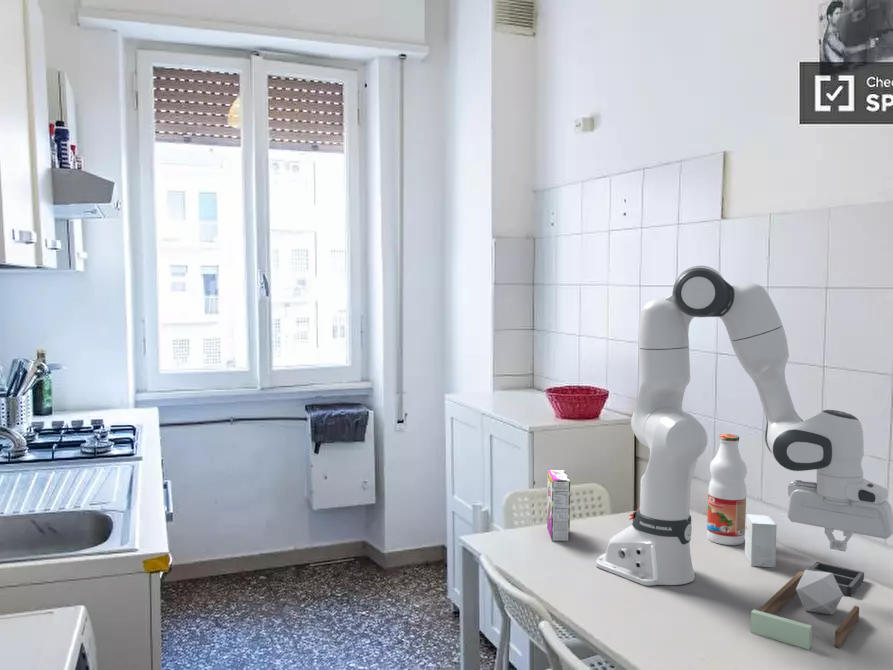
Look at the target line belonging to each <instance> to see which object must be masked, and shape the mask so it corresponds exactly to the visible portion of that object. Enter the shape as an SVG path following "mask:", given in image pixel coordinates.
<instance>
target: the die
mask: <svg viewBox="0 0 893 670" xmlns="http://www.w3.org/2000/svg"><path fill="white" fill-rule="evenodd" d="M803 572H804V573H803V575H802V577H801V579H800V581H799V584H798V586H797V588H796V591H797V593H796V594H797V595H798V598H799V600H800V602H801V603H802V607H803V608H804V611H806V612H809V613H818V614H825V615H834V613H835V612H836V610H837V608H838V606H839V604H840V603H841V599H842V598H843V596H844V595H843V594H842V592H841V590H840V588H839V586H838V584H837V582H836V580H835V578H834V576H833V574H832V573H828V572H820V571H811V570H809V569H805V570H804V571H803Z"/></svg>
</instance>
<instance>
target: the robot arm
mask: <svg viewBox="0 0 893 670" xmlns="http://www.w3.org/2000/svg"><path fill="white" fill-rule="evenodd" d="M695 317H696V318H719V319H721V321H722V322H723V324H724V326H725V329H726V331H727V334H728V338H729V340H730V344H731V346H732V349H733V351H734V353H735V356H736V357H737V360H738V362H739V363H740V365H741V367H742V368H743V369H744V371H745V373H747V375H748V376H749V377H750V378H751V379H752V381H753V383H754V385H755V387H756V389H757V393H758V396H759V399H760V402H761V406H762V408H763V411H764V414H765V419H766V424H765V432H764V442H765V446H766V448H767V449H768V451H769V452H770V453H771V454H772V456H773V457H774V459H775V461H776V462H777V463H778V464H779V465H780V466H781V467H783V468H784V469H786V470H789V471H793V472H803V471H805V472H806V471H812V470H814V471H815V470H816V482H813V481H804V480H803V481H802V480H800V479H796V480H794V481H791V482H790V483H789V484H788V486H787V495H788V497H789V501H788V507H787V518H788V520H789V521H790V523H791V522H792V523H796V524H801V525H807V526H808V525H809V526H811V527H812V526H813V527H818V528H824V534H825V536H826V538H827V539H828V541H829V549H830V550H835V551H841V552H846V551H847V549H848V542H849V541H850V539H851V538H852V536H853V535H854V534H857V535H862V536H868V537H873V538H878V539H879V538H880V539H885V540H888V539H889V538H890V537H891V536H892V535H893V508H892V505H891V504H890V502H889V501H888V500H887V499H888V494H889V492H888V491H889V490H888V489H887V488H886V487H884V486H882V485H879V484H878V483H877V484H876V483H875V482H873V481H869V480H867V479H865V478H864V471H863V467H862V460H863V458H864V454H865V453H864V452H865V451H864V449H865V448H864V447H865V446H864V445H865V444H864V430H863V425H862V422H861V421H860V420H859V419H858V417H856V416H855V415H853V414H851V413H848V412H845V411H840V410H835V409H823V410H822V411H820V412H819V413H818V414H816V415H814V416H812V417H810V418H808V419H805V420H803V419H802V418H801V417H800V415H799V414H798V412H797V411H796V409H795V407H794V404H793V401H792V397H791V395H790V390H789V387H788V384H787V382H786V373H785V371H786V366H787V363H788V360H789V357H790V353H789V346H788V339H787V335H786V332H785V329H784V325H783V323H782V321H781V317H780V314H779V312H778V310H777V308H776V306H775V304H774V302H773V300H772V298H771V297H770V295H769V293H768V291H766V289H765V288H764V287H763V286H762V285H760V284H757V283H751V282H750V283H748V282H747V283H746V282H745V283H741V284H737V285H732V284H730V283H729V282H728V281H726V280H725V279H724V277H723V275H721V273H719V271H717V270H716V269H714V268H712V267H710V266H708V265H707V266H706V265H694V266H691V267H688V268H687V269H685V270H684V271H682V272H681V273H680V274H679V276H678V277H677V279H676V280H675V282H674V285H673V288H672V292H671V294H670V295H669V296H666V297H658V298H654V299H652V300H649V301H648V302H646V303H645V304H644V305H643V306H642V308H641V311H640V317H639V323H638V325H639V326H638V341H637V342H638V364H639V365H638V366H639V369H638V370H639V384H638V385H639V386H638V393H637V398H636V406H635V411H634V412H633V414H632V415H631V418H630V419H631V420H630V426H631V430H632V432H633V434H634V436H635V437H636V439H637V440H638V441H639V443H640V444H642V445H643V446H645V447H646V448H648V449H649V457H648V458H649V459H648V462H647V466H646V469H645V472H644V474H642V476H641V478H640V489H639V490H640V492H639V493H640V494H639V498H640V499H639V507H638V508H637V510H634V511H633V513H631V514H629V521H631V520H632V523H631V525H628V527H627V526H626V528H624V529H623V530H621V531H619V532H618V533H615V534H614V535H613V536H612V537H611V538H610V539H609V541H608V544H607V546H606V551H605V552H604V553H603V554H600V555H599V556H598V557H597V559H596V561H595V562H596V563H595V566H596V567H597V568H598V569H601V570H604V571H606V572H610V573H612V574H614V575H617V576H620V577H623V578H625V579H627V580H629V581H633V582H636V583H638V584H640V585H643V586H647V587H649V586H658V585H661V586H663V585H664V586H677V585H678V586H679V585H685V584H688V583H691V582H693V581H694V580H695V579H696V575H695V570H694V567H693V563H692V561H693V560H692V554H691V548H690V547H691V543H690V541H691V540H692V539H691V538H692V530H693V529H692V516H691V514H690V513H691V512H690V507H691V490H692V489H691V486H692V480H693V475H694V472H695V468H696V465H697V461H698V459H699V458H700V457H701V456H702V455H703V453H704V452H705V450H706V448H707V446H708V433H707V431H706V429H705V428H704V426H703V425H702V423H700V421H699V420H697V418H696V417H695V416H693V415H692V414H690V413H688V412H686V411H683V401H684V397H685V396H684V395H685V391H686V389H687V386H688V385H689V383H690V381H691V366H690V365H691V364H690V340H689V339H690V338H689V331H690V330H689V329H690V324H691V321H692V320H693V319H694V318H695ZM834 531H841V532H843V534H842V535H843V537H845V538H844V539H843V540H841V539H836V538H835V536H834V534H833V532H834Z"/></svg>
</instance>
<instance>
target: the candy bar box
mask: <svg viewBox="0 0 893 670" xmlns="http://www.w3.org/2000/svg"><path fill="white" fill-rule="evenodd" d="M546 475H547V483H546V484H547V485H546V486H547V488H546V489H547V492H546V494H547V496H546V497H547V498H546V499H547V500H546V501H547V503H546V506H547V507H546V512H547V513H546V529H547V531H548V533H549V537H550V539H551V541H552V542H570V527H571V526H570V524H571V521H570V520H571V519H570V518H571V516H570V513H571V480H570V478H569V476H568V474H567V472H566V471H565V470H564V469H547V474H546Z"/></svg>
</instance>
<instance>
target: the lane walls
mask: <svg viewBox="0 0 893 670" xmlns="http://www.w3.org/2000/svg"><path fill="white" fill-rule="evenodd" d="M803 573H804V571H801V570H799V571H798V572H797V573H796V574H795V575H794V576H792V578H790V579H789V581H787V583H785V584H784V585H783V586H782V587H781V588H780V589H779V590H778V591H776V593H775V594H774V595H772V597H770V598H769V599H768V600H767V601H766V602H765V603H764V604H763V605H762V606H761V607H760V608H759V609H757V610H758V611H762V612H765V613H769V614H772V615H776V614H777V613H778V612H779V611H780V610H781V609H782V608H783V607H784V606H785V605H787V603H788V602H789V601H790V600H791V599H792V598H793V597H794V596H795V595H796V594H798V593H797V591H796V588H797V586H798V584H799V581H800V579H801V577H802V575H803ZM859 620H860V606H858V605H854V606H853V607H852V609H851V610H850V611H849V613H848V614H847V615H846V616H845V618H844V619H843V620H842V622H841V623H840V624H839V625H838V627H837V628H836V629H835V633H834V647H835V648H838V649H840V648H841V647H842V645H843V644H844V642H845V641H846V639H848V637H849V636H850V634H851V633H852V631H853V630H854V628H855V627H856V626H857V625H858V623H859V622H860V621H859Z"/></svg>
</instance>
